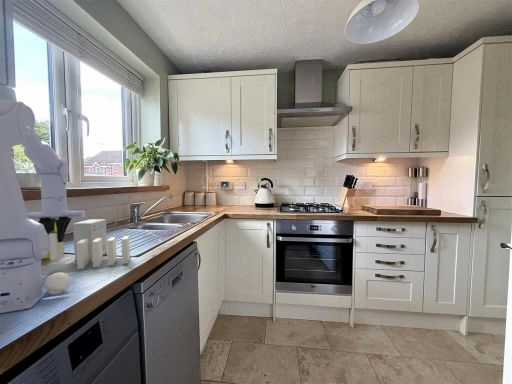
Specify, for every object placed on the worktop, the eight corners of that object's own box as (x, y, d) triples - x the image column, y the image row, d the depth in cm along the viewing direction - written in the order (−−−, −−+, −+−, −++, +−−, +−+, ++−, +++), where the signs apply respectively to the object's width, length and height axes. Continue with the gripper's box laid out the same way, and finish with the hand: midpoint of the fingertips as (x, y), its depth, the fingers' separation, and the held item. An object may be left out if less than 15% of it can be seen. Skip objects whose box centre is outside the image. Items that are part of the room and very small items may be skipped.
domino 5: (127, 263, 75) (127, 239, 75) (122, 263, 75) (121, 239, 74) (129, 258, 80) (129, 235, 79) (124, 259, 79) (123, 236, 79)
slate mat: (127, 266, 74) (127, 265, 74) (30, 278, 65) (30, 276, 65) (131, 257, 82) (131, 256, 82) (46, 267, 73) (46, 265, 73)
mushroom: (39, 294, 55) (39, 274, 55) (64, 286, 59) (64, 267, 59) (49, 300, 53) (49, 278, 53) (73, 291, 57) (73, 272, 57)
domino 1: (57, 259, 69) (55, 232, 68) (50, 260, 68) (48, 232, 68) (63, 255, 73) (62, 229, 73) (57, 255, 72) (55, 229, 72)
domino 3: (99, 266, 73) (98, 241, 72) (93, 267, 72) (92, 241, 72) (102, 261, 77) (101, 238, 76) (97, 262, 76) (96, 238, 76)
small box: (91, 253, 87) (89, 219, 86) (107, 253, 87) (106, 219, 86) (74, 260, 79) (72, 223, 78) (92, 260, 79) (90, 223, 78)
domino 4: (113, 264, 74) (112, 240, 74) (107, 265, 73) (107, 240, 73) (116, 260, 78) (115, 236, 78) (111, 260, 78) (110, 237, 77)
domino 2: (83, 268, 71) (82, 242, 71) (77, 269, 71) (76, 243, 70) (88, 263, 75) (87, 239, 75) (82, 263, 75) (81, 239, 74)
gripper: (87, 196, 76) (88, 236, 77) (30, 197, 71) (32, 241, 71) (79, 197, 69) (81, 242, 70) (16, 199, 64) (19, 247, 65)
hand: (56, 242), depth 70 cm, fingers closed on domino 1, 1 cm apart
